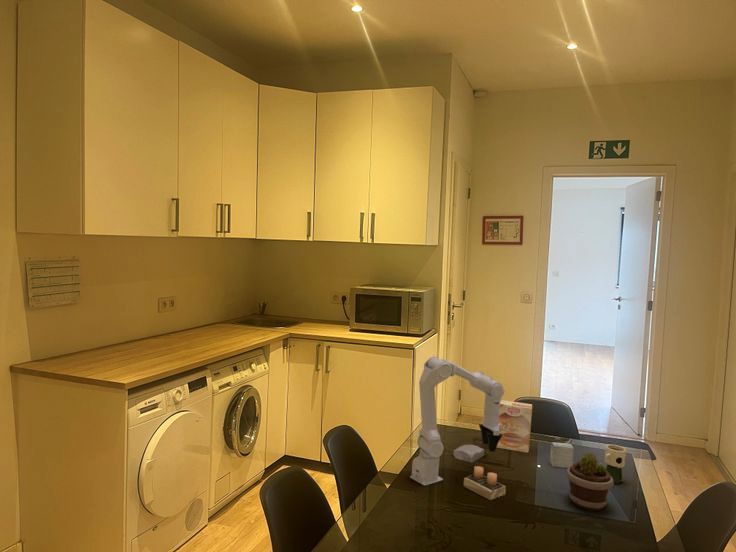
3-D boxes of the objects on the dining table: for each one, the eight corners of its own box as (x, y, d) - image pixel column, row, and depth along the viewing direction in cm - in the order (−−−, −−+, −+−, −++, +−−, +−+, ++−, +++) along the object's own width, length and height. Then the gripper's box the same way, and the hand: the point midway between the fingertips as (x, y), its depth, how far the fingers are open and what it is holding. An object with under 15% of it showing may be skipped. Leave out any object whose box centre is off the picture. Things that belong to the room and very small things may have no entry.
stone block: (451, 461, 214) (473, 464, 208) (450, 449, 215) (472, 451, 209) (464, 454, 224) (486, 456, 218) (463, 443, 224) (485, 445, 218)
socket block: (490, 500, 178) (490, 489, 178) (463, 486, 187) (464, 476, 187) (505, 494, 183) (505, 484, 183) (478, 481, 192) (479, 471, 192)
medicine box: (569, 464, 214) (571, 443, 214) (572, 468, 210) (574, 447, 209) (549, 462, 215) (551, 441, 214) (552, 466, 210) (553, 445, 210)
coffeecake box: (492, 447, 228) (496, 403, 227) (493, 441, 235) (497, 398, 234) (528, 453, 224) (532, 408, 223) (528, 447, 231) (532, 403, 230)
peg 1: (478, 480, 185) (479, 470, 185) (471, 476, 188) (472, 467, 187) (484, 478, 187) (485, 468, 187) (477, 474, 189) (478, 465, 189)
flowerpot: (571, 489, 190) (576, 435, 189) (616, 504, 181) (621, 447, 180) (557, 503, 179) (562, 445, 178) (604, 519, 169) (610, 459, 168)
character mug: (612, 487, 194) (615, 453, 194) (595, 479, 201) (598, 446, 200) (630, 482, 200) (633, 449, 199) (613, 475, 206) (616, 442, 205)
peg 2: (492, 486, 180) (493, 477, 180) (484, 483, 183) (485, 473, 183) (498, 484, 182) (499, 475, 182) (490, 481, 185) (491, 471, 185)
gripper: (508, 418, 192) (505, 455, 193) (495, 406, 207) (493, 440, 207) (489, 418, 192) (486, 454, 192) (478, 406, 206) (475, 440, 207)
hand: (488, 447), depth 200 cm, fingers open, 7 cm apart
